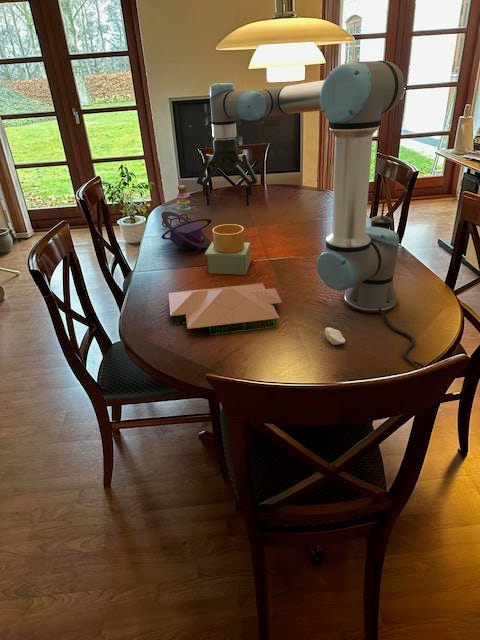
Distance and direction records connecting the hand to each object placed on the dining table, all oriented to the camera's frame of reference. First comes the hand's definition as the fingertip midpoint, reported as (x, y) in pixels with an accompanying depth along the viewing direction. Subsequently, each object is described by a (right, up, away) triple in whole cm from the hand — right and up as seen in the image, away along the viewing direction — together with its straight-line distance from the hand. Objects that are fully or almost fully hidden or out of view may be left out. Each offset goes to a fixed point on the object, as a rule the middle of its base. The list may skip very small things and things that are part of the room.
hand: (228, 205), depth 151 cm
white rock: (+29, -45, -32) cm, 63 cm away
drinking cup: (+56, -14, +18) cm, 61 cm away
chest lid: (0, -14, +9) cm, 16 cm away
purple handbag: (-17, -10, +31) cm, 37 cm away
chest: (0, -20, +12) cm, 23 cm away
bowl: (0, -13, +8) cm, 16 cm away
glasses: (-23, +2, +51) cm, 56 cm away
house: (0, -38, -17) cm, 41 cm away
